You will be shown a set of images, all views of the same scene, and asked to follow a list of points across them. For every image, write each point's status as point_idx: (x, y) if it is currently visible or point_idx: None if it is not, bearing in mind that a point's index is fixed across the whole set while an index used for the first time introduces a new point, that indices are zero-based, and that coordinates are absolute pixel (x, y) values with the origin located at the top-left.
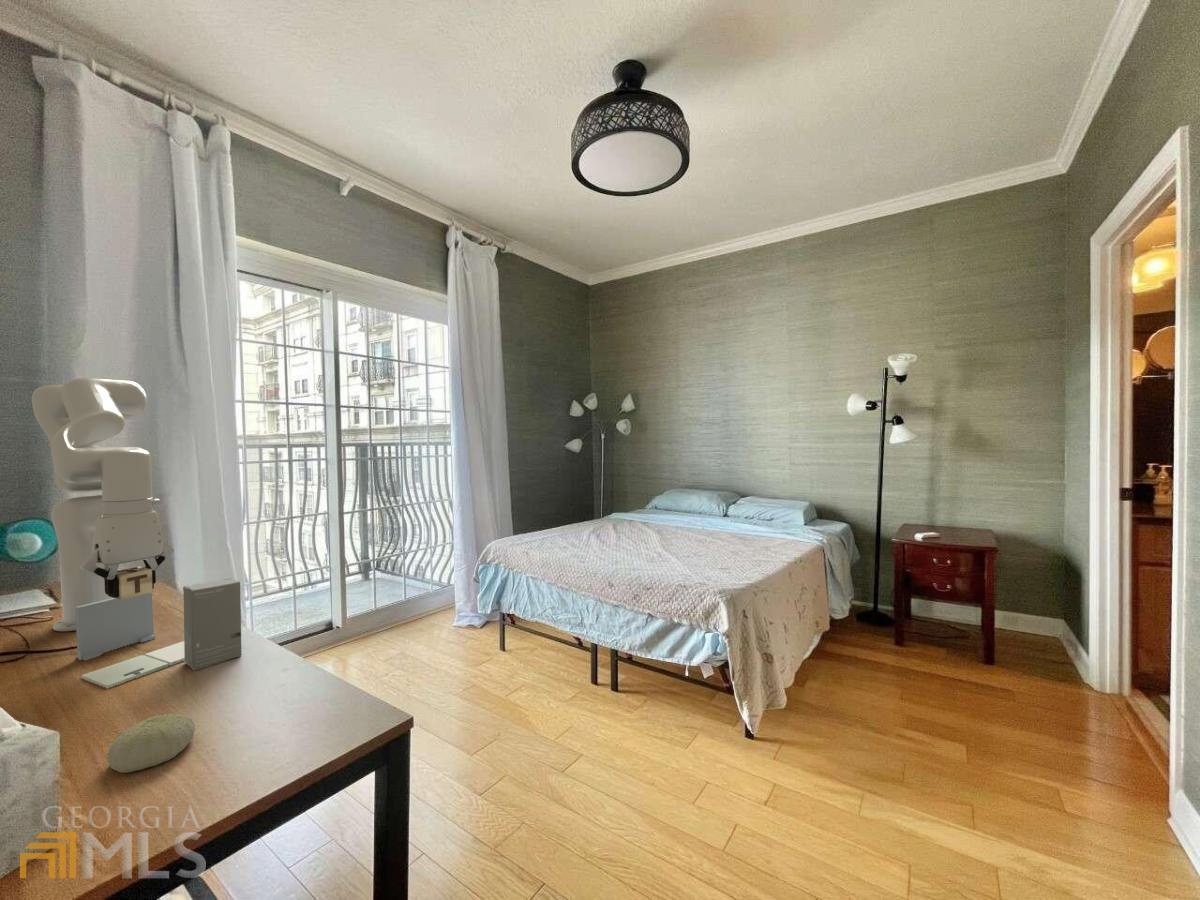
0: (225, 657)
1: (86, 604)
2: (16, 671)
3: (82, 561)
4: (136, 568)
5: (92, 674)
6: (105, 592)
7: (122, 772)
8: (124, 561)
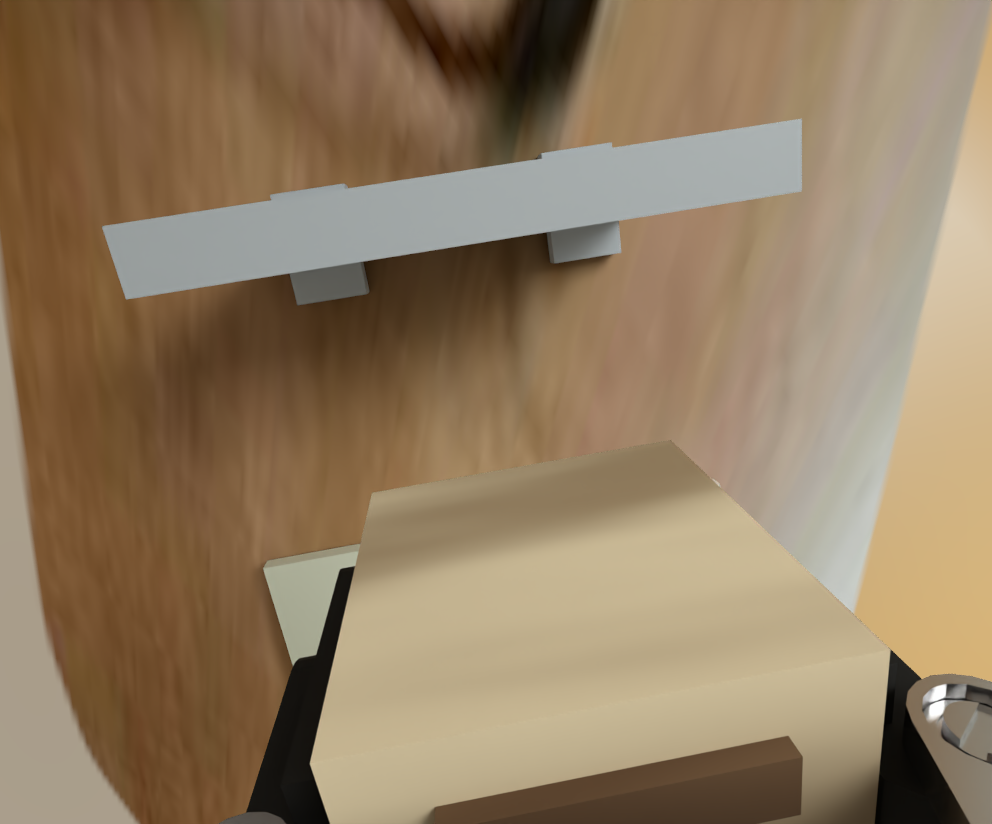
0: None
1: (203, 221)
2: (14, 129)
3: None
4: (764, 801)
5: (297, 600)
6: (301, 664)
7: None
8: None
